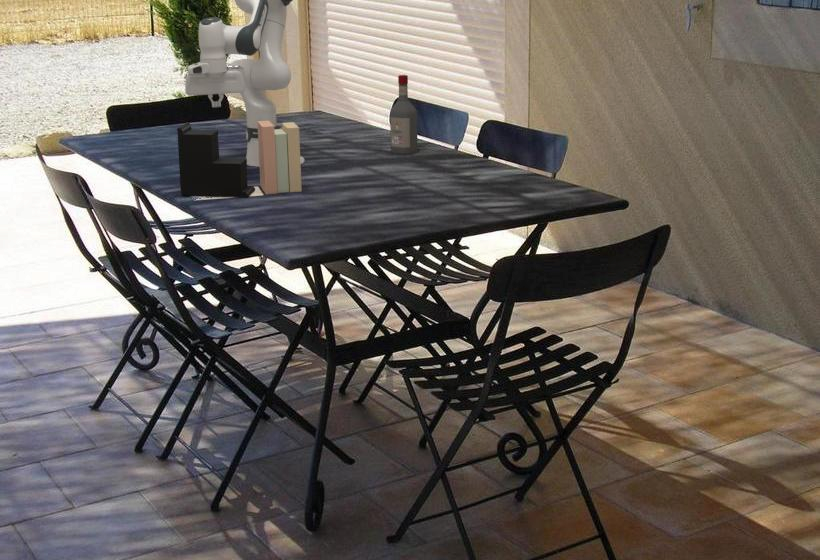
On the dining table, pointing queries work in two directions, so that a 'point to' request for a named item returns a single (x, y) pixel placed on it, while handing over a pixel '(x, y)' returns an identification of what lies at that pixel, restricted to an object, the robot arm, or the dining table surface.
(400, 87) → the liquor
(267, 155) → the book row
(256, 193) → the cream mat
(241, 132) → the dining table surface
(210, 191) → the black drawer cabinet
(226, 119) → the dining table surface
